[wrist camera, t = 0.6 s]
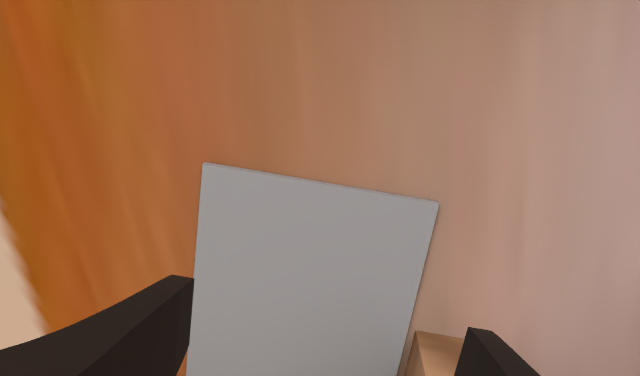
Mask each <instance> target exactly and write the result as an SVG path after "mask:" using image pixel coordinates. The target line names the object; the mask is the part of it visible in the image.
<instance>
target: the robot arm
mask: <svg viewBox="0 0 640 376" xmlns="http://www.w3.org/2000/svg"><path fill="white" fill-rule="evenodd" d="M194 280H195V279H194V278H188V277H182V276H177V275H170V276H168V277H166V278H164V279H162V280H160V281H158V282H156V283H154V284H153V285H151V286H149V287H147V288H145V289H143V290H142V291H140V292H138V293H136V294H134V295H132V296H130V297H128V298H127V299H125V300H123V301H121V302H119V303H117V304H115V305H113V306H111V307H109V308H107V309H105V310H103V311H101V312H99V313H96V314H94V315H92V316H90V317H88V318H86V319H84V320H82V321H79V322H77V323H75V324H73V325H70V326H68V327H65V328H63V329H61V330H58V331H56V332H53V333H50V334H47V335H45V336H42V337H40V338H37V339H34V340H31V341H28V342H25V343H22V344H19V345H15V346H12V347H9V348H5V349H2V350H0V376H176V375H177V372H178V370H179V368H180V366H181V363H182V361H183V359H184V356H185V354H186V351H187V349H188V346H189V342H190V330H191V317H192V305H193V292H194ZM454 376H540V375H539V374H538V373H537V372H536V371H535V370H534V369H533V368H532V367H531V366H529V365H528V364H527V363H526V362H525V361H524V360H523V359H522V358H521V357H520V356H519V355H518V354H517V353H516V352H515V351H514V350H513V349H512V348H511V347H509V346H508V345H507V344H506V343H505V342H504V341H503V340H502V339H501V338H500V337H498V336H497V335H496V334H495V333H494V332H492V331H489V330H483V329H477V328H472V327H468V329H467V333H466V336H465V339H464V343H463V346H462V350H461V353H460V356H459V360H458V363H457V367H456V370H455V373H454Z"/></svg>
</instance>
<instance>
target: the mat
mask: <svg viewBox="0 0 640 376" xmlns="http://www.w3.org/2000/svg"><path fill="white" fill-rule="evenodd" d="M438 207H439V203H438V201H432V200H426V199H420V198H414V197H409V196H403V195H397V194H391V193H385V192H379V191H373V190H367V189H361V188H356V187H350V186H344V185H338V184H332V183H326V182H320V181H314V180H308V179H303V178H297V177H291V176H285V175H279V174H273V173H267V172H261V171H256V170H250V169H244V168H238V167H232V166H226V165H220V164H214V163H208V162H205V163H203V167H202V179H201V192H200V204H199V217H198V229H197V242H196V254H195V267H194V279H195V280H194V292H193V305H192V317H191V330H190V342H189V346H188V354H187V367H186V376H397V372H398V368H399V364H400V360H401V356H402V352H403V348H404V344H405V340H406V336H407V332H408V328H409V324H410V320H411V316H412V312H413V308H414V304H415V300H416V296H417V292H418V288H419V284H420V280H421V276H422V272H423V268H424V264H425V260H426V256H427V252H428V248H429V244H430V240H431V236H432V231H433V227H434V223H435V219H436V215H437V211H438Z"/></svg>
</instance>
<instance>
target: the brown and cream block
mask: <svg viewBox="0 0 640 376" xmlns="http://www.w3.org/2000/svg"><path fill="white" fill-rule="evenodd" d="M463 343H464V339H461V338H455V337H450V336H444V335H438V334H433V333H427V332H421V331H415V335H414V339H413V343H412V347H411V351H410V355H409V359H408V363H407V367H406V371H405V374H404V376H454V373H455V370H456V367H457V363H458V360H459V356H460V353H461V350H462V346H463Z"/></svg>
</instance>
